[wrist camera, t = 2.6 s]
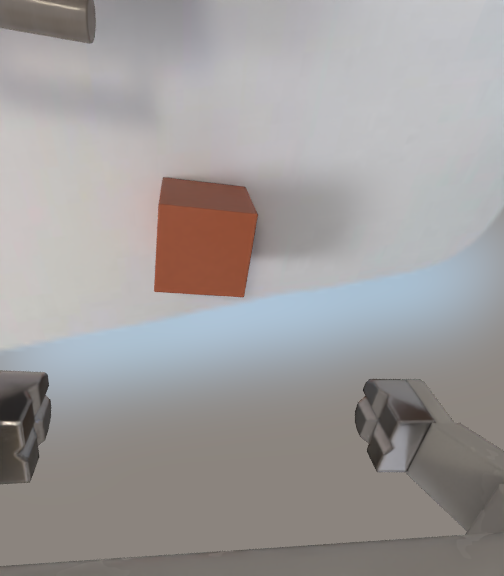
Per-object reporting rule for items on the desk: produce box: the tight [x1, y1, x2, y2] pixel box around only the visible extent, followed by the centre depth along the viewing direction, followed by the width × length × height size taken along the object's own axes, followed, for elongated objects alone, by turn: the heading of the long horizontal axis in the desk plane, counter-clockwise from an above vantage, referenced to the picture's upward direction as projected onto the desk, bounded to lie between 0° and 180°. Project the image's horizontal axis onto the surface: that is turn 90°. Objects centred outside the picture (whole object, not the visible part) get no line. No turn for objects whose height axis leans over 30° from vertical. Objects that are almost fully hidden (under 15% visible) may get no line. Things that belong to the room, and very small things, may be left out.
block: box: [154, 178, 258, 297], centre depth 21 cm, size 4×4×4 cm
